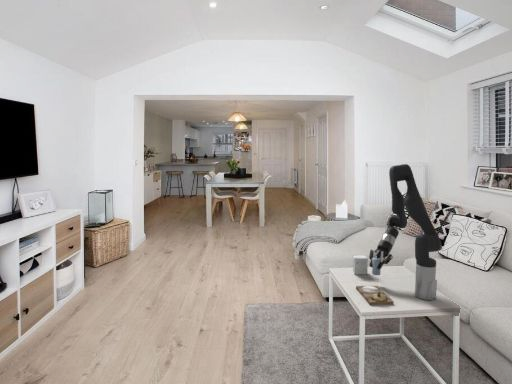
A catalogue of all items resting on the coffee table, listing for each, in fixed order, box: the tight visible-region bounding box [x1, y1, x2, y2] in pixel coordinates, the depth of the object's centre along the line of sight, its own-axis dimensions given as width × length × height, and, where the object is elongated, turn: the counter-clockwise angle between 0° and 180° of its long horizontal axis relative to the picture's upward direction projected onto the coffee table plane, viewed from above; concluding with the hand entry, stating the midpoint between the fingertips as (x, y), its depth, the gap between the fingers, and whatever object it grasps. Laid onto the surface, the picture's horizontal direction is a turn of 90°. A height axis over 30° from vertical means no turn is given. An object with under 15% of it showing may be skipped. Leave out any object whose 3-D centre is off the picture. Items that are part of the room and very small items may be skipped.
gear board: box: [355, 285, 394, 306], centre depth 173 cm, size 20×12×5 cm, turn 2°
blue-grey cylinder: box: [371, 258, 381, 276], centre depth 189 cm, size 4×4×9 cm
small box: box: [352, 255, 369, 275], centre depth 207 cm, size 8×6×10 cm
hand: (374, 267), depth 188 cm, fingers closed on blue-grey cylinder, 4 cm apart
